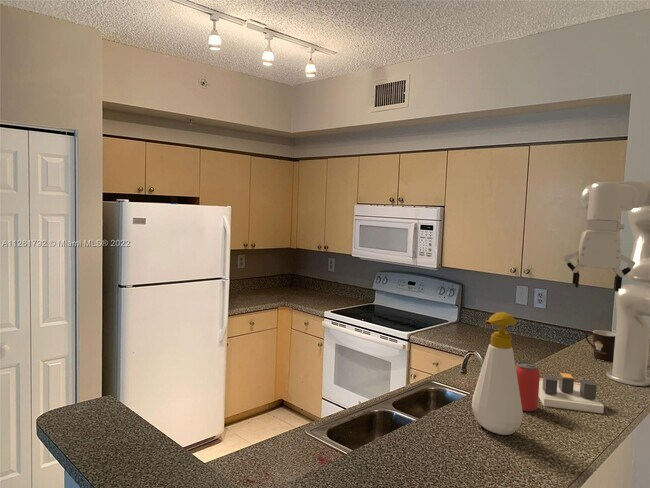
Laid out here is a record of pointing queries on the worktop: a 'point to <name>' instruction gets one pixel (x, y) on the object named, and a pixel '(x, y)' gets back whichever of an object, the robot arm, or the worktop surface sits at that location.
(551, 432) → the worktop surface
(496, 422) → the soap bottle
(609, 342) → the coffee mug
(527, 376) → the beer can
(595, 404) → the breaker panel
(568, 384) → the block
